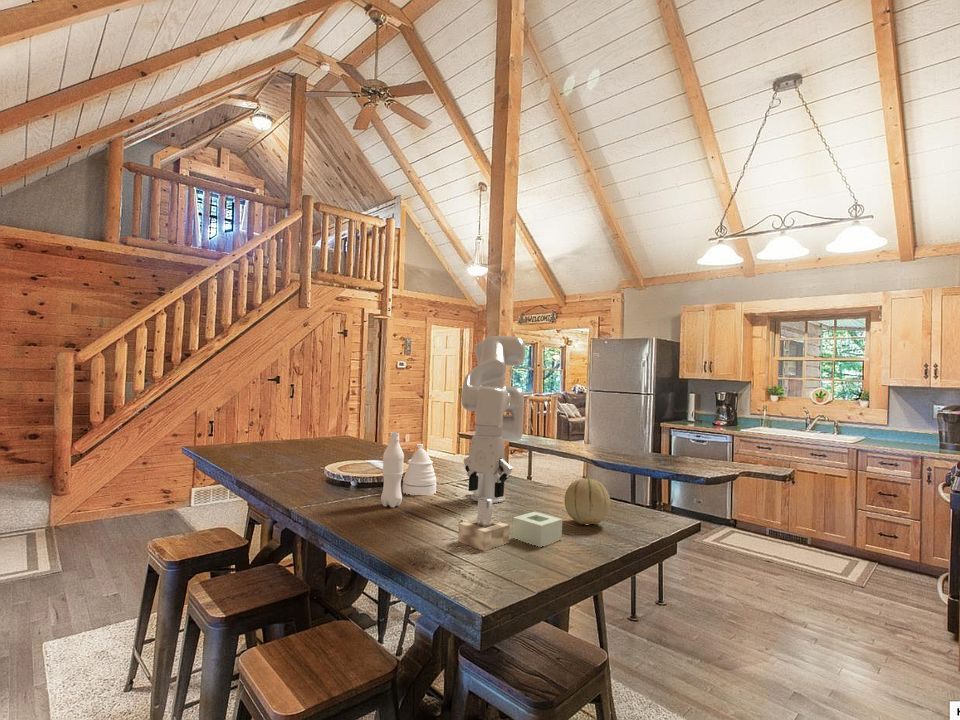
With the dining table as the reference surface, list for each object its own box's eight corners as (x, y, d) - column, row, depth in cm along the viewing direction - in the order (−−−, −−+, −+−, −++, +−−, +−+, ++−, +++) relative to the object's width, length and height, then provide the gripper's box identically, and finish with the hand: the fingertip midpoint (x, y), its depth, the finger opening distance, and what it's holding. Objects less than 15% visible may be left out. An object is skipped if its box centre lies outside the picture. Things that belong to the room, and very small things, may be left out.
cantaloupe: (586, 533, 155) (588, 483, 155) (553, 520, 167) (555, 474, 167) (619, 527, 163) (621, 480, 163) (586, 515, 175) (588, 471, 176)
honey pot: (398, 489, 202) (400, 443, 202) (429, 487, 207) (431, 442, 207) (408, 496, 190) (410, 448, 190) (440, 494, 195) (443, 447, 196)
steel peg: (473, 541, 143) (475, 498, 143) (483, 539, 146) (485, 496, 146) (483, 545, 140) (485, 501, 140) (493, 542, 143) (495, 499, 143)
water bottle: (377, 507, 174) (380, 432, 174) (385, 502, 181) (389, 430, 181) (396, 509, 172) (400, 434, 173) (404, 504, 179) (408, 432, 180)
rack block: (512, 538, 147) (513, 517, 147) (533, 531, 154) (534, 511, 155) (540, 547, 140) (541, 525, 140) (561, 540, 148) (562, 519, 148)
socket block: (458, 541, 142) (458, 523, 143) (482, 534, 150) (483, 516, 150) (484, 551, 136) (485, 532, 136) (508, 543, 143) (509, 525, 143)
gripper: (457, 429, 147) (454, 489, 146) (503, 435, 135) (500, 501, 134) (475, 428, 152) (472, 486, 151) (521, 434, 140) (518, 497, 139)
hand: (485, 493), depth 143 cm, fingers open, 9 cm apart
